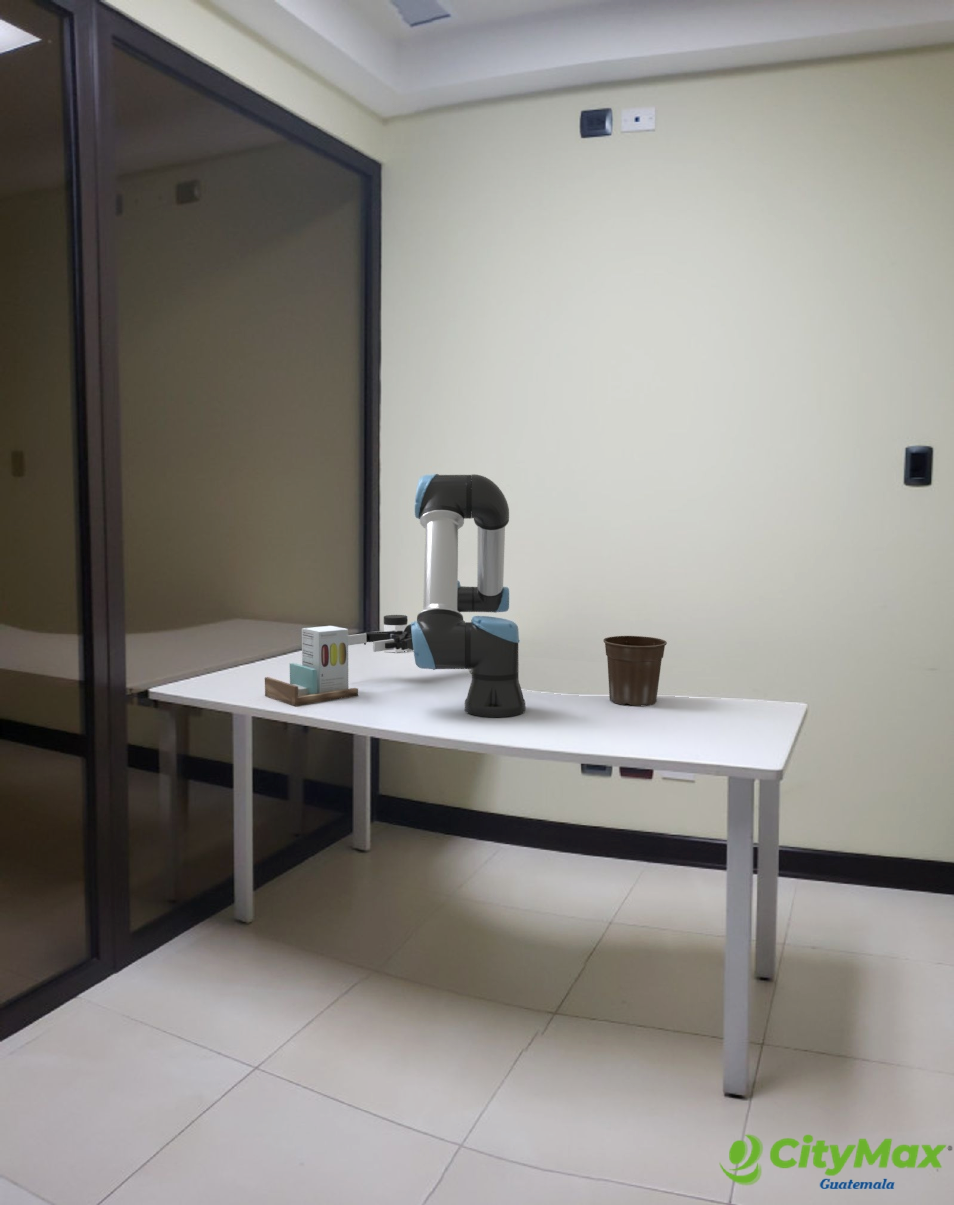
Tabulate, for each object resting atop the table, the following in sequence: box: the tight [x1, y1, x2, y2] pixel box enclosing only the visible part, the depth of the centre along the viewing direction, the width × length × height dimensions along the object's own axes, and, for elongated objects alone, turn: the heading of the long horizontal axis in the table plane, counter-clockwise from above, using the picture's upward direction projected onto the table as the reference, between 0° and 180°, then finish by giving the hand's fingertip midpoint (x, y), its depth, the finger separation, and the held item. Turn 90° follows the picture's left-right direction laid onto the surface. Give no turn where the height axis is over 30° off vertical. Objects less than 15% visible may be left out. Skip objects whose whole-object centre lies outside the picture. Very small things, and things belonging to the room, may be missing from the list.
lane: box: [264, 676, 359, 707], centre depth 251 cm, size 19×16×5 cm
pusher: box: [289, 662, 317, 696], centre depth 249 cm, size 4×12×7 cm, turn 40°
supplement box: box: [301, 625, 349, 694], centre depth 253 cm, size 10×9×17 cm
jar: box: [383, 614, 408, 653], centre depth 322 cm, size 9×8×12 cm
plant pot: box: [603, 635, 668, 707], centre depth 245 cm, size 16×16×16 cm
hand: (359, 643), depth 260 cm, fingers open, 13 cm apart
